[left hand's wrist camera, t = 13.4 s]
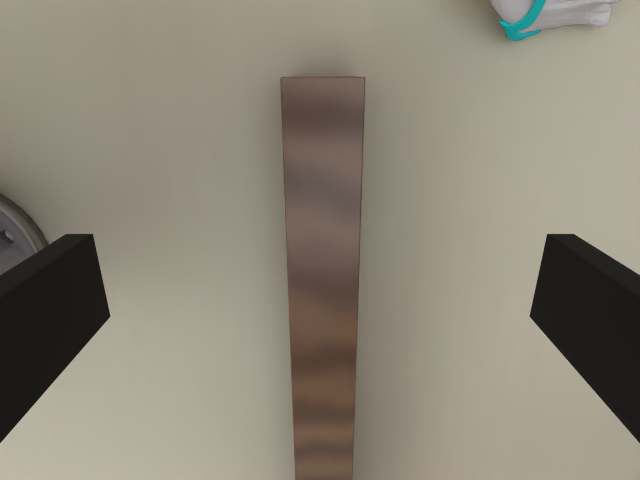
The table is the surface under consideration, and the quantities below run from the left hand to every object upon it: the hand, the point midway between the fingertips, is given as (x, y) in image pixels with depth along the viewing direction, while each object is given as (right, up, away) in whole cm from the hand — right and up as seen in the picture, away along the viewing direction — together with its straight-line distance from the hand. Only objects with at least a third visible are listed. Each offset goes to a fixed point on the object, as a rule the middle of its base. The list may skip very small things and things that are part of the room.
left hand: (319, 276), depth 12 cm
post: (0, -10, +33) cm, 34 cm away
